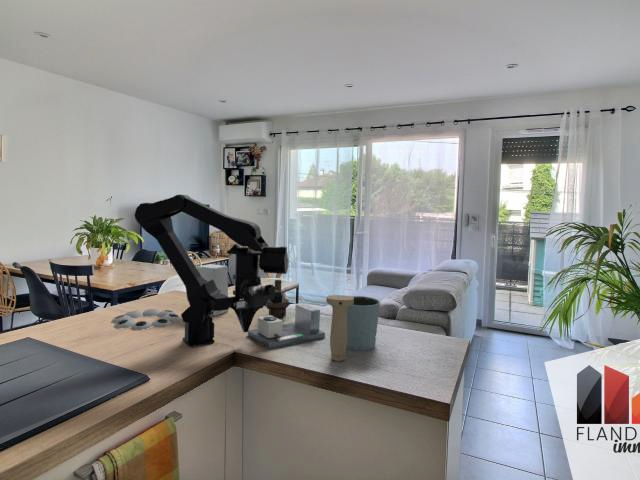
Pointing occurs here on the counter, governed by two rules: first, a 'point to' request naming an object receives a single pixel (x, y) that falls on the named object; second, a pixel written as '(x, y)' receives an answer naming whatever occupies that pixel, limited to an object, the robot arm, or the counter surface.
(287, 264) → the robot arm
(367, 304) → the teal cup
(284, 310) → the industrial component
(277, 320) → the white box with dome
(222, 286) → the skincare box
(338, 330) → the handle
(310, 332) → the bench
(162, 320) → the grey flat openwork piece
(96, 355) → the counter surface
